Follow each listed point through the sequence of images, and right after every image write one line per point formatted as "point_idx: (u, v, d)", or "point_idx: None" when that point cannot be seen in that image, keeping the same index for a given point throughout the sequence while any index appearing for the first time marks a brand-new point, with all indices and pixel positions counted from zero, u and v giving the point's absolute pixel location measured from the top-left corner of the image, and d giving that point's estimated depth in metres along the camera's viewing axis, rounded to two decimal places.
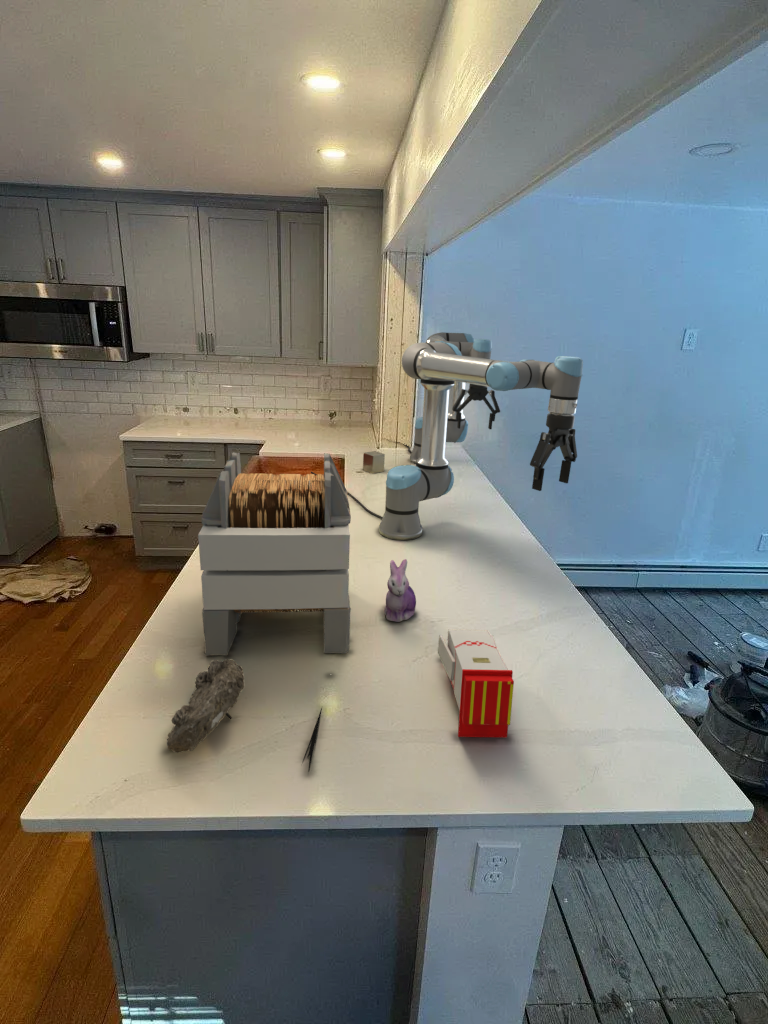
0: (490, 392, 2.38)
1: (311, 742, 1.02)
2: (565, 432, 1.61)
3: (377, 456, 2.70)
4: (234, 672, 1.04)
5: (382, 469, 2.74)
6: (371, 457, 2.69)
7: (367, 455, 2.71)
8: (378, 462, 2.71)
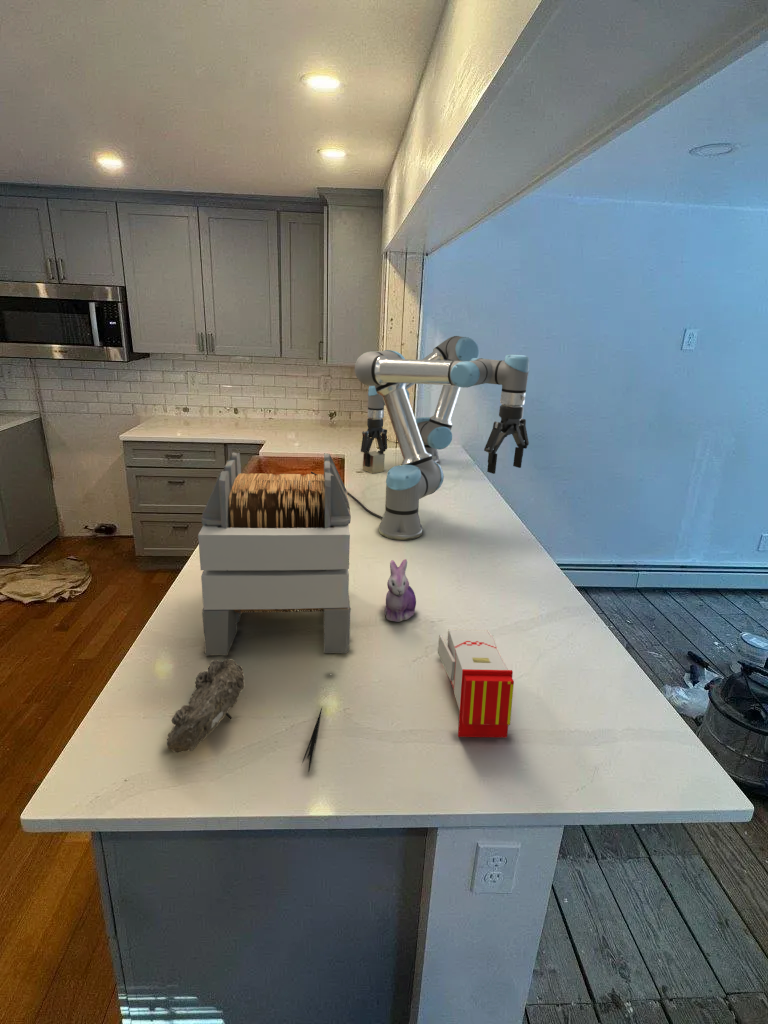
0: None
1: (311, 742, 1.02)
2: (516, 422, 1.82)
3: (377, 456, 2.70)
4: (234, 672, 1.04)
5: (382, 469, 2.74)
6: (371, 457, 2.69)
7: None
8: (378, 462, 2.71)
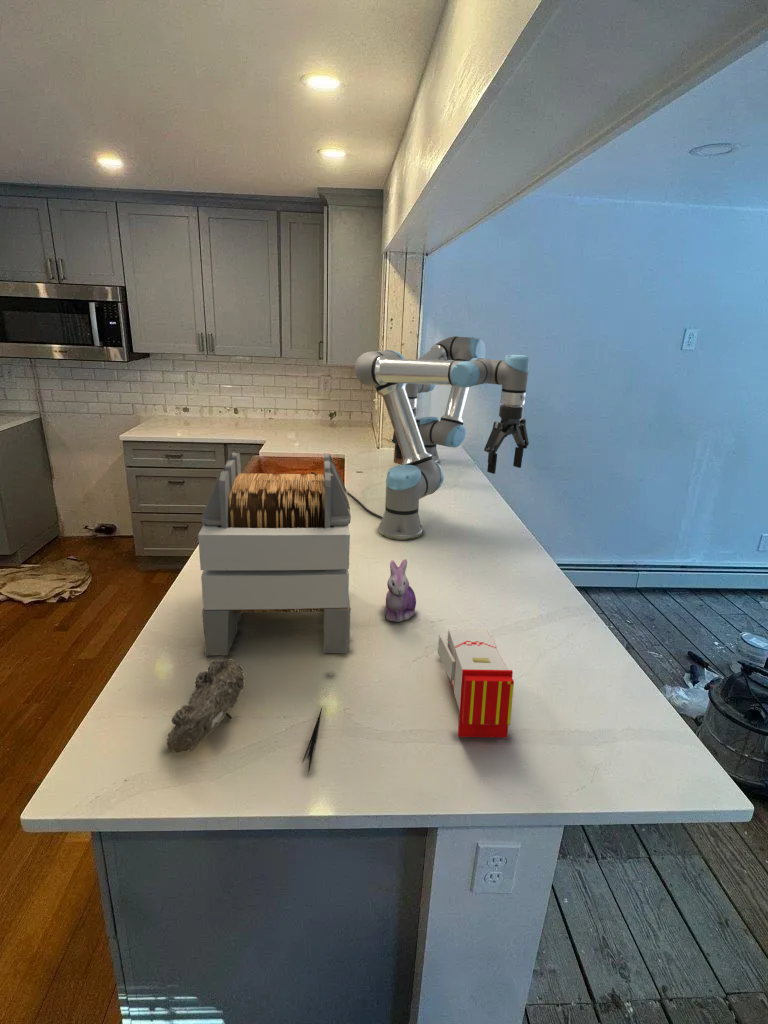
0: None
1: (311, 742, 1.02)
2: (516, 422, 1.82)
3: None
4: (234, 672, 1.04)
5: None
6: None
7: None
8: None
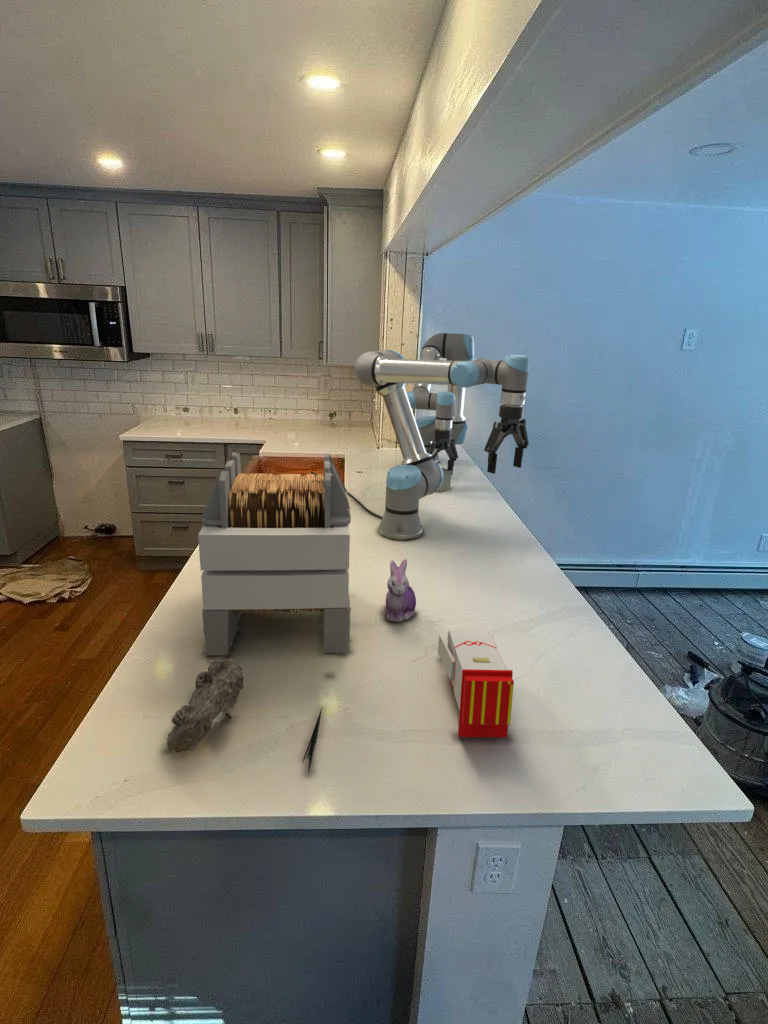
0: None
1: (311, 742, 1.02)
2: (516, 422, 1.82)
3: (444, 473, 2.47)
4: (234, 672, 1.04)
5: (448, 487, 2.51)
6: None
7: None
8: (444, 480, 2.48)
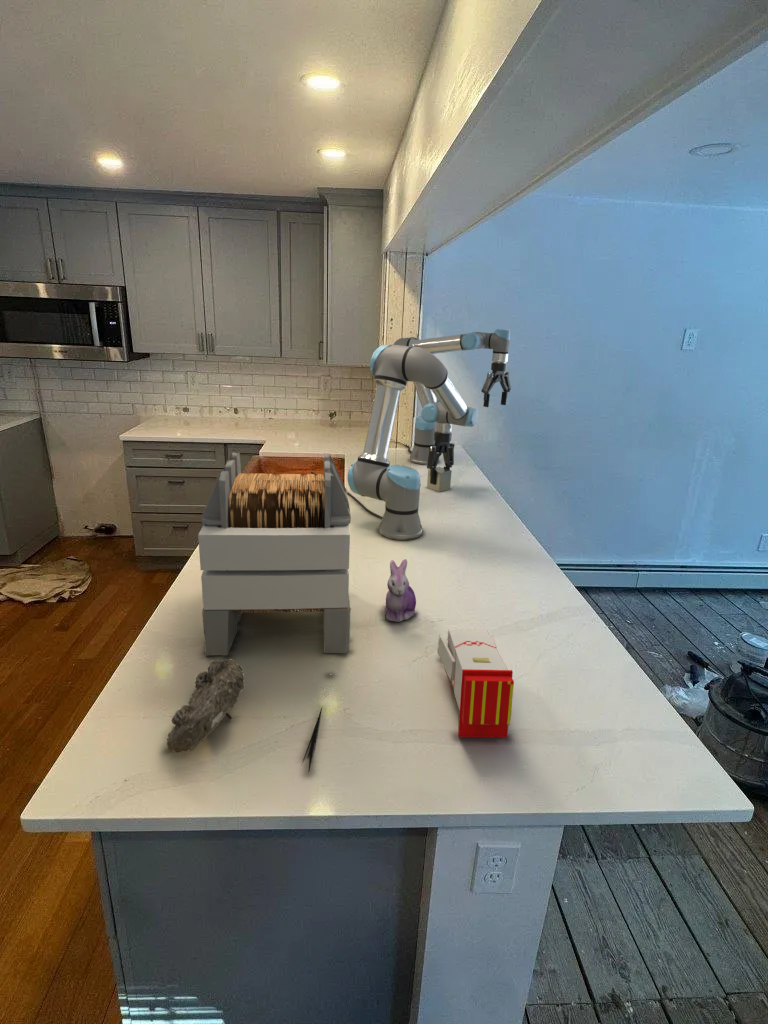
0: None
1: (311, 742, 1.02)
2: (447, 442, 2.46)
3: (444, 473, 2.47)
4: (234, 672, 1.04)
5: (448, 487, 2.51)
6: (438, 474, 2.46)
7: None
8: (444, 480, 2.48)
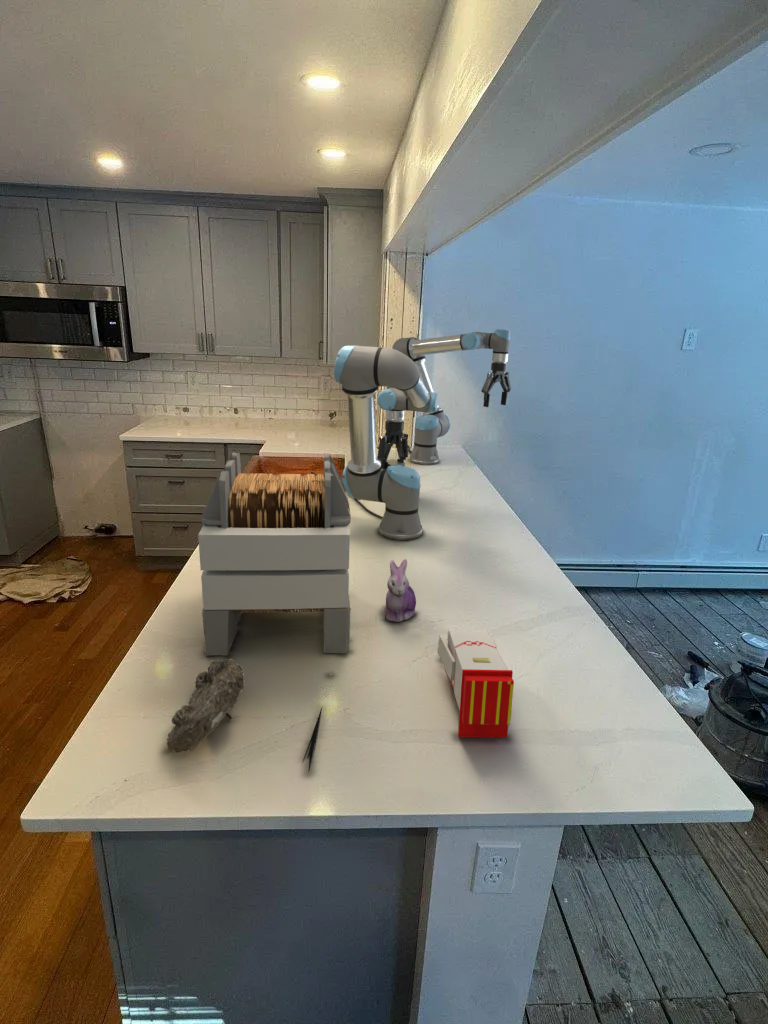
0: None
1: (311, 742, 1.02)
2: (399, 432, 2.28)
3: (396, 465, 2.29)
4: (234, 672, 1.04)
5: None
6: None
7: None
8: None
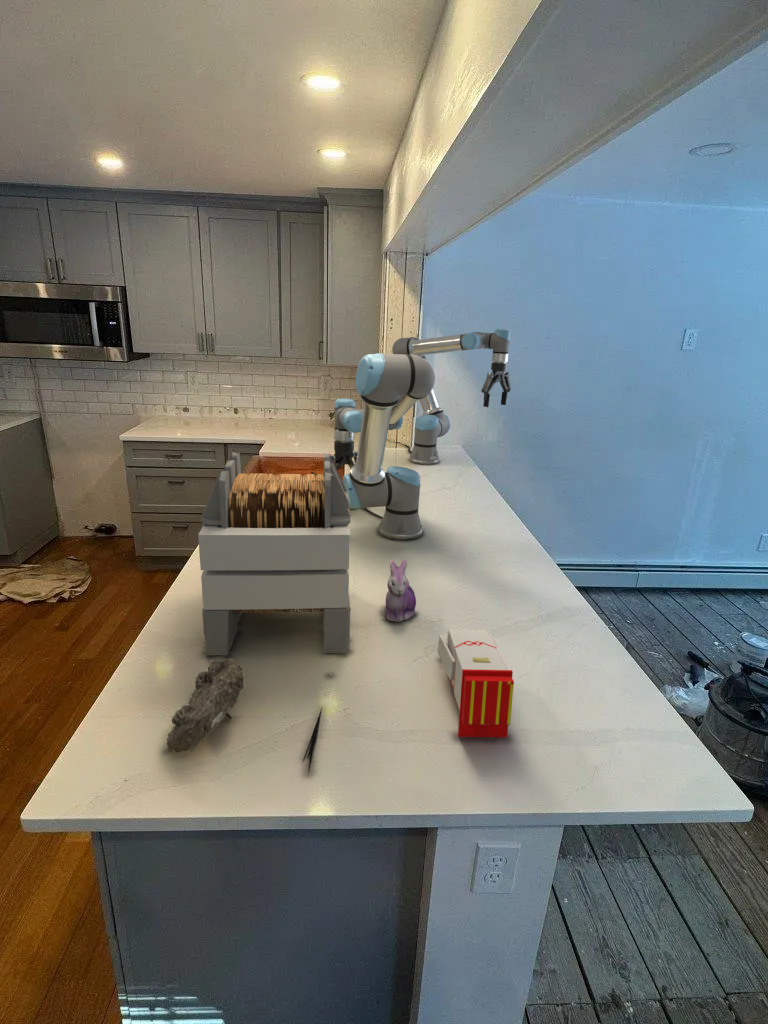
0: None
1: (311, 742, 1.02)
2: (349, 453, 2.16)
3: None
4: (234, 672, 1.04)
5: None
6: None
7: None
8: None
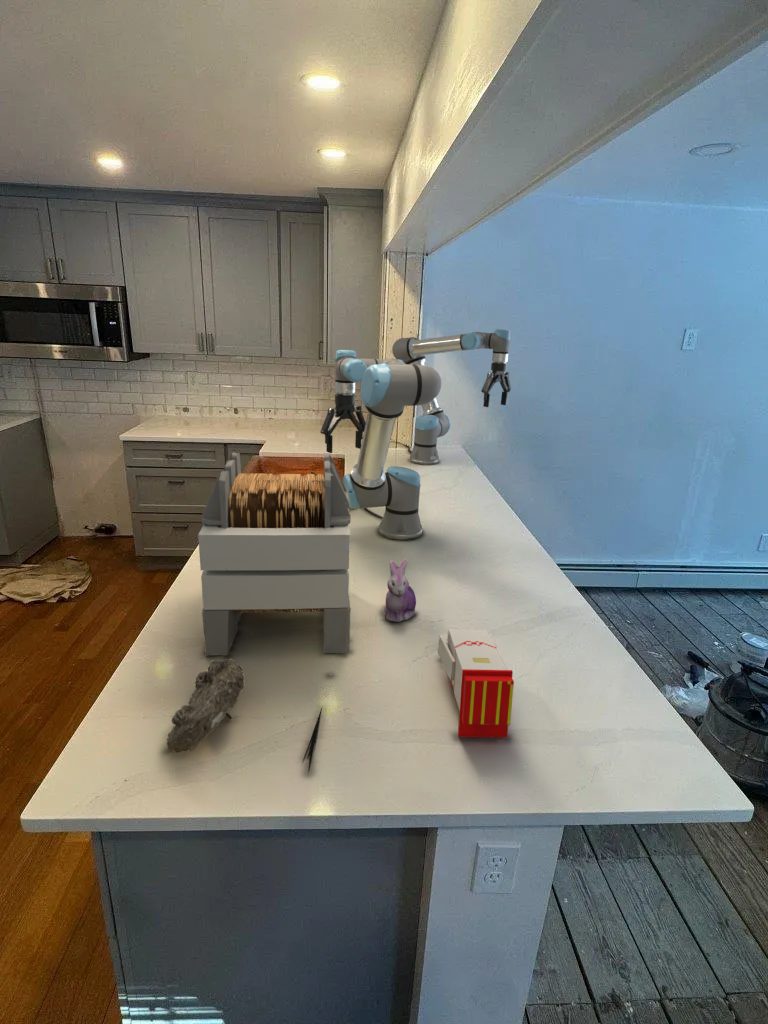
0: None
1: (311, 742, 1.02)
2: (350, 408, 2.10)
3: None
4: (234, 672, 1.04)
5: None
6: None
7: None
8: None
